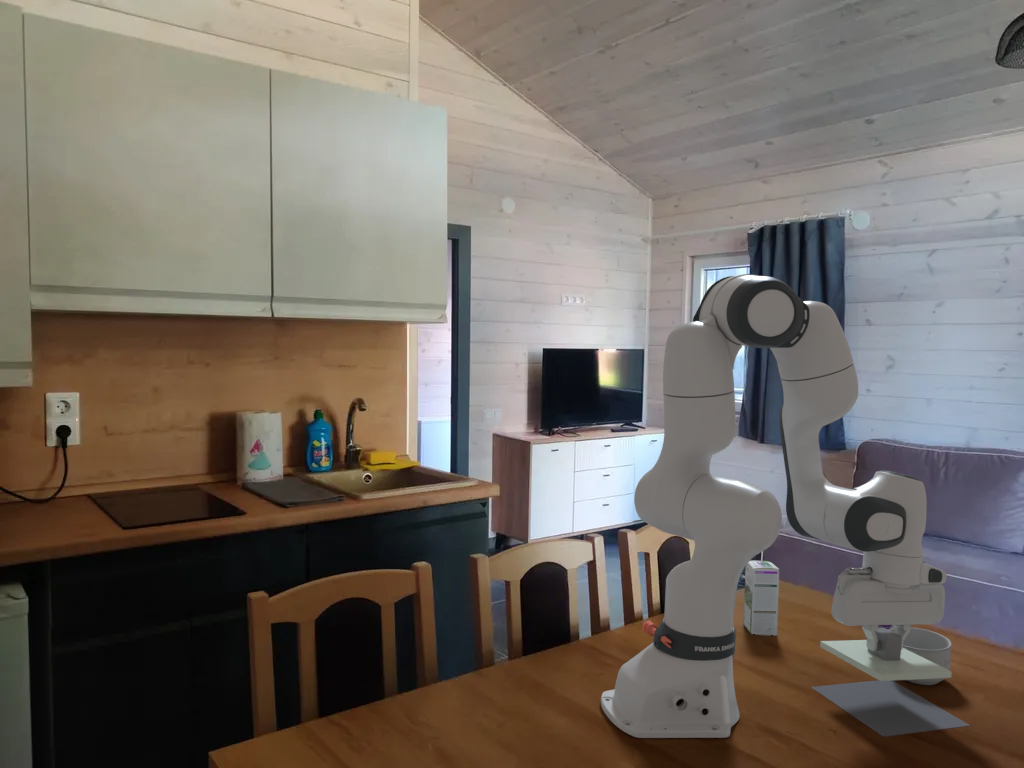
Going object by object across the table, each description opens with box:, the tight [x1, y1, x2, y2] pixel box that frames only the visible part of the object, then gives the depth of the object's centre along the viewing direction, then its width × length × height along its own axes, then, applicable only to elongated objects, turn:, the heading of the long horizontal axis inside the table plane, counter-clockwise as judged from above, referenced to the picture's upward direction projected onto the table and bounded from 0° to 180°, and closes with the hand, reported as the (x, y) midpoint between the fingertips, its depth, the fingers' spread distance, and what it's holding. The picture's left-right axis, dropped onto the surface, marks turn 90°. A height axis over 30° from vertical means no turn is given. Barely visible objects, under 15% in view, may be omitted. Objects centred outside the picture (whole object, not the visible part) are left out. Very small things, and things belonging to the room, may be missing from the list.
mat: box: [811, 679, 971, 737], centre depth 124 cm, size 17×17×1 cm
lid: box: [819, 628, 953, 681], centre depth 123 cm, size 14×14×5 cm
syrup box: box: [742, 560, 780, 637], centre depth 157 cm, size 6×6×14 cm
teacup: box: [888, 625, 953, 686], centre depth 137 cm, size 14×11×8 cm
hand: (884, 649), depth 123 cm, fingers closed on lid, 3 cm apart
